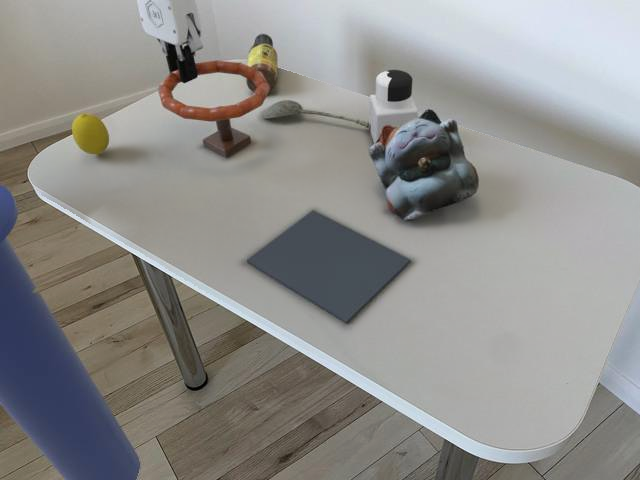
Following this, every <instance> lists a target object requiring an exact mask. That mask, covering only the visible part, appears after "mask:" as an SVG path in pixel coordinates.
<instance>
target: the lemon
mask: <svg viewBox="0 0 640 480" xmlns="http://www.w3.org/2000/svg"><path fill="white" fill-rule="evenodd" d="M71 133H72V137H73V140H74V142H75V144H76V146H77V147H78V148H79V149H80V150H81V151H83V152H84V153H86V154H89V155H96V156H100V155H101V154H102V153H104V151H106V149H107V148H108V146H109V144H110V135H109V134H110V133H109V130H108V129H107V127H106V125H105V123H104V122H103V121H102V119H100V117H98V116H97V115H95V114H92V113H85V112H82V113H80V115H78V116H76V117H75V118H74V120H73V122H72V124H71Z"/></svg>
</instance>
